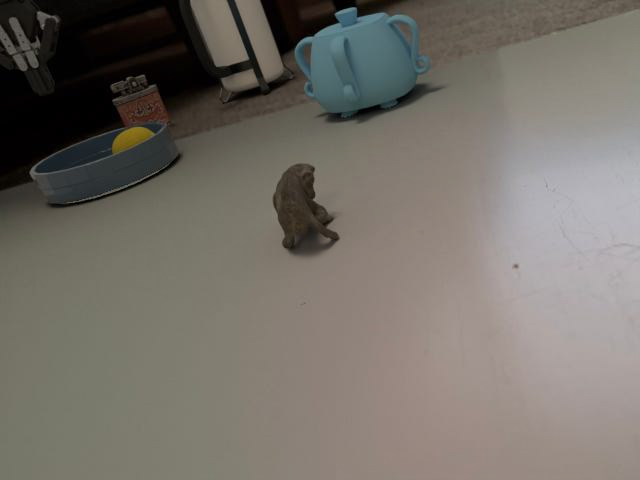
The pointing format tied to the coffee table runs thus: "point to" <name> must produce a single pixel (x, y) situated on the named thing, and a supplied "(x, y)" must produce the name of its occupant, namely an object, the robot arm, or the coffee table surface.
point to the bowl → (102, 165)
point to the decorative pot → (361, 62)
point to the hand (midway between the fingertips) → (47, 93)
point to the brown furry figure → (299, 204)
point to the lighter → (140, 102)
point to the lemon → (130, 138)
